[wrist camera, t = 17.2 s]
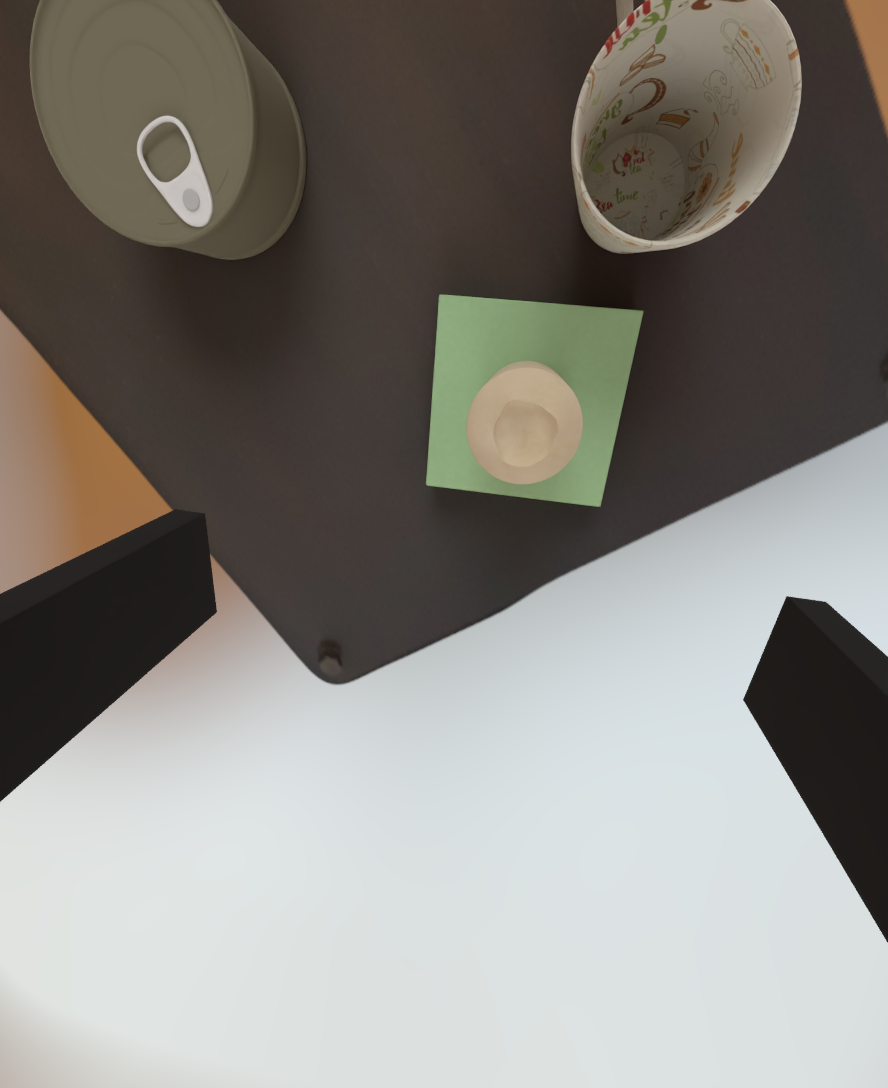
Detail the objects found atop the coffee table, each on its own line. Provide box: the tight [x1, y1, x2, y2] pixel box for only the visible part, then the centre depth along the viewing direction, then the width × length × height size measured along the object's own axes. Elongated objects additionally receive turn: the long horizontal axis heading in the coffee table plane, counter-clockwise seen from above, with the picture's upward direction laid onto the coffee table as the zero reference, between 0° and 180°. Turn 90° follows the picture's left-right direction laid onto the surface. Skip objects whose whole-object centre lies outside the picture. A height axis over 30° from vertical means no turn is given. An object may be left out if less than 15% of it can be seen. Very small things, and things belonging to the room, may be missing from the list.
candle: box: [466, 361, 583, 484], centre depth 26 cm, size 6×6×10 cm
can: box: [30, 0, 306, 260], centre depth 27 cm, size 12×12×7 cm
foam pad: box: [426, 294, 643, 507], centre depth 32 cm, size 12×12×2 cm
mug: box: [571, 0, 802, 254], centre depth 23 cm, size 8×13×10 cm, turn 19°
